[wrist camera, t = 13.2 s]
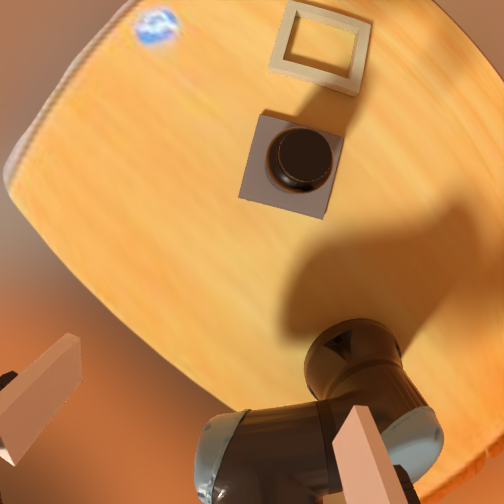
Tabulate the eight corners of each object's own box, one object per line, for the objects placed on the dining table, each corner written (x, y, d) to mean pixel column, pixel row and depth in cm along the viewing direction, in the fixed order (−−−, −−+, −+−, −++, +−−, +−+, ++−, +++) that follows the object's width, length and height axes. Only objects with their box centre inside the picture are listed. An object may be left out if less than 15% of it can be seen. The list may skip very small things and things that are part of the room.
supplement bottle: (324, 186, 37) (352, 185, 25) (272, 199, 38) (277, 204, 26) (310, 134, 36) (331, 111, 24) (258, 146, 36) (256, 127, 25)
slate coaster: (341, 138, 37) (343, 137, 36) (321, 219, 39) (322, 219, 38) (259, 116, 37) (259, 114, 36) (238, 197, 39) (238, 197, 38)
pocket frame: (366, 30, 33) (371, 24, 31) (354, 97, 35) (358, 92, 34) (287, 6, 33) (288, -1, 31) (267, 71, 35) (268, 66, 33)
